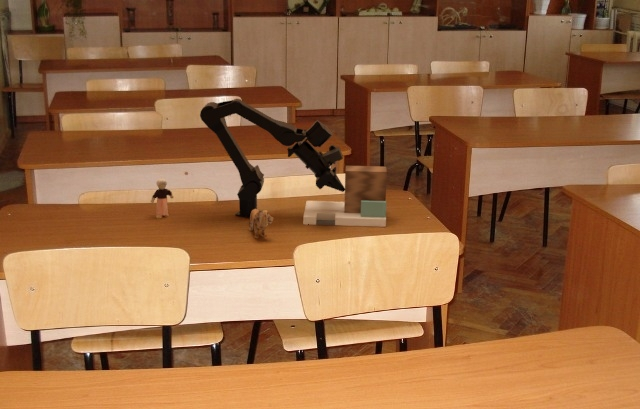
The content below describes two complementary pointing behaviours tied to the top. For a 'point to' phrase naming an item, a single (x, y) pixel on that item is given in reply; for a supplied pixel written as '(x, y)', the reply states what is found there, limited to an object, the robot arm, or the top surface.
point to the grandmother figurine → (161, 198)
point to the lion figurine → (259, 221)
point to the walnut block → (364, 186)
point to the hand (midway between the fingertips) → (344, 190)
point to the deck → (345, 214)
